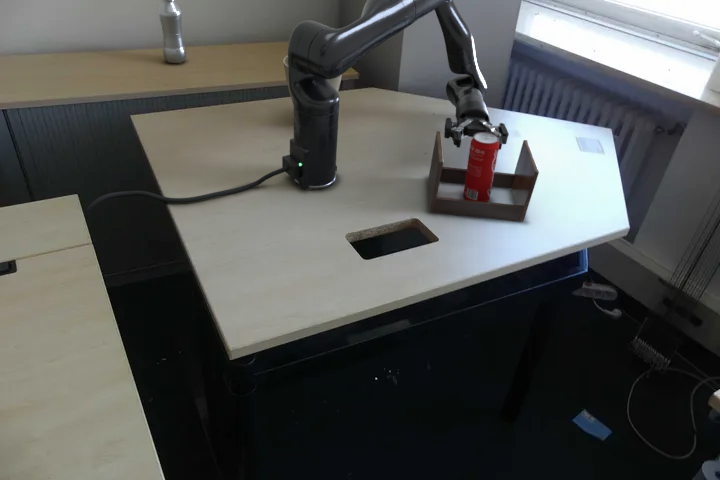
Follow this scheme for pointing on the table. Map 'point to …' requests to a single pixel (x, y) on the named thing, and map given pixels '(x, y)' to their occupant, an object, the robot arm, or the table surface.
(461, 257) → the table surface
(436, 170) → the walnut crate
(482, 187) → the beverage can
